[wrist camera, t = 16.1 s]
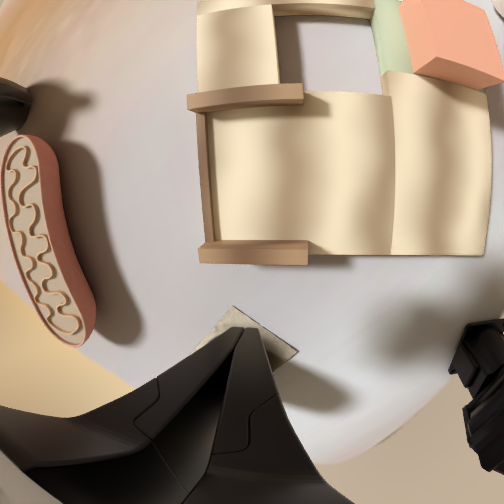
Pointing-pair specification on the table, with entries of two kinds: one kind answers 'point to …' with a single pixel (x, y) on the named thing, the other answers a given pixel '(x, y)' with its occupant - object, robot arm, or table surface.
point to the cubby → (201, 105)
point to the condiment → (272, 344)
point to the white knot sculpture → (499, 6)
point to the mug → (13, 106)
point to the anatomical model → (44, 240)
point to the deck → (343, 143)
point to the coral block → (451, 42)
